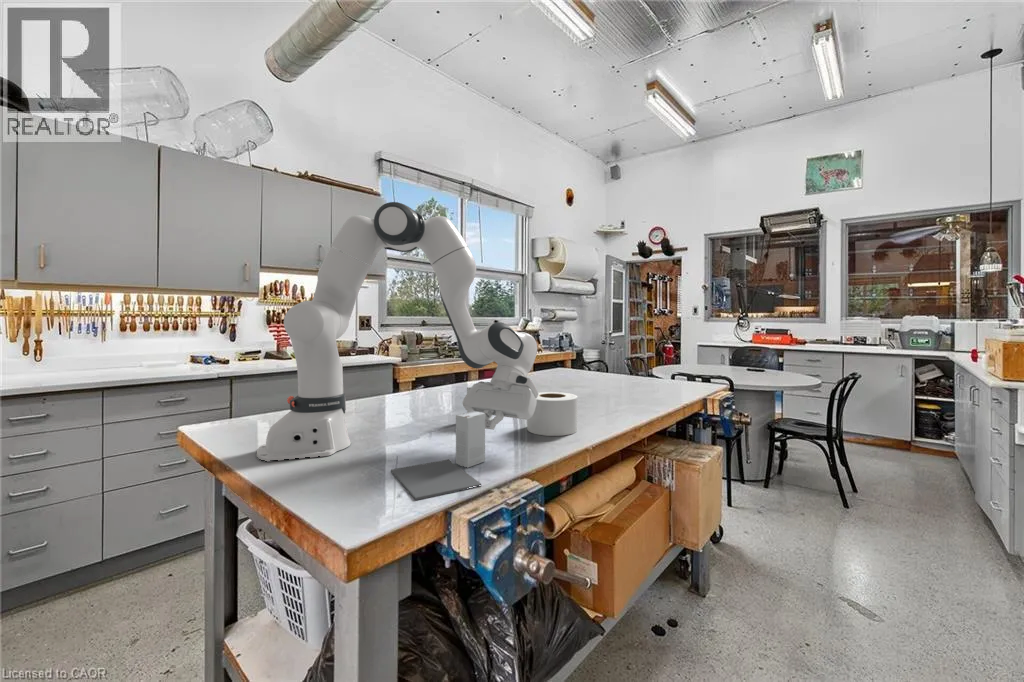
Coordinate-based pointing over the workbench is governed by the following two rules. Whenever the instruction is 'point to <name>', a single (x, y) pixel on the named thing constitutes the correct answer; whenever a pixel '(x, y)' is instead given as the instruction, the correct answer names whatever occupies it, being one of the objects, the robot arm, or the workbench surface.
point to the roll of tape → (554, 414)
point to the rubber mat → (433, 479)
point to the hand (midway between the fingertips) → (487, 427)
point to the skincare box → (470, 438)
